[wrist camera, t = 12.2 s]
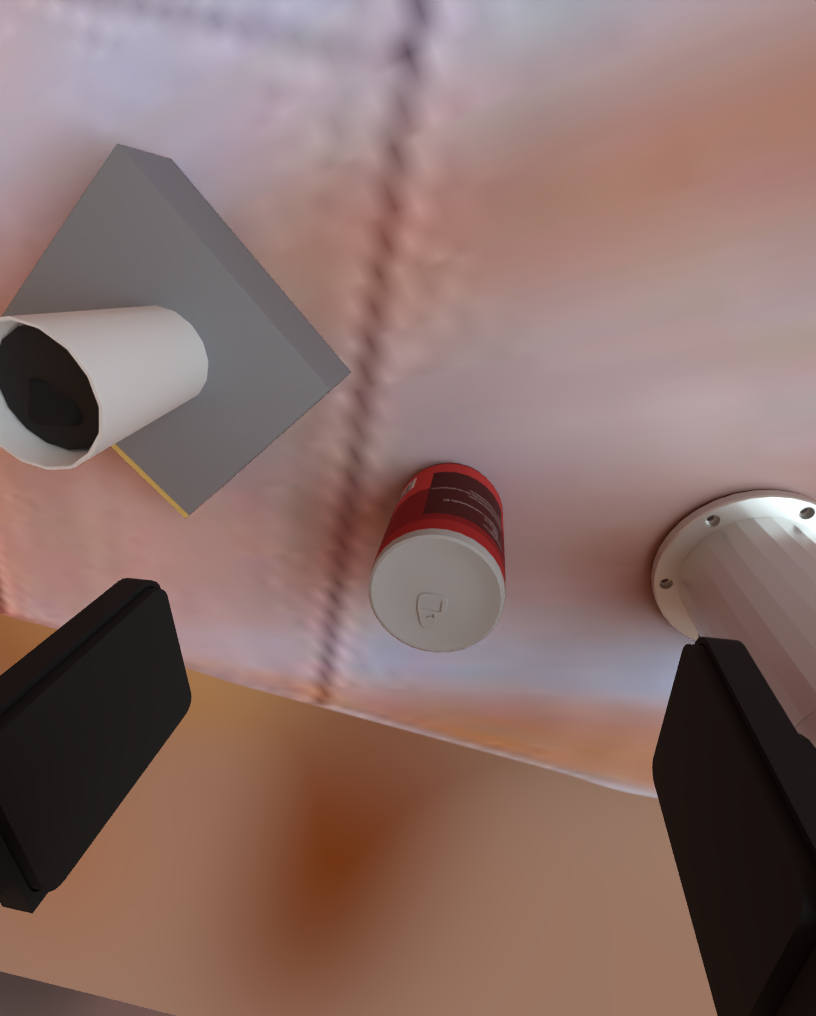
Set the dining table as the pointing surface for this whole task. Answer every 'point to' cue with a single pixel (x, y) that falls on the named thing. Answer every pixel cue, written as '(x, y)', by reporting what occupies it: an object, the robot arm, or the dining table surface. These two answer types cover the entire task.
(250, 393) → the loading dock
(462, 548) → the canned food
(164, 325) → the white cup
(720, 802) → the robot arm
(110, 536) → the dining table surface
